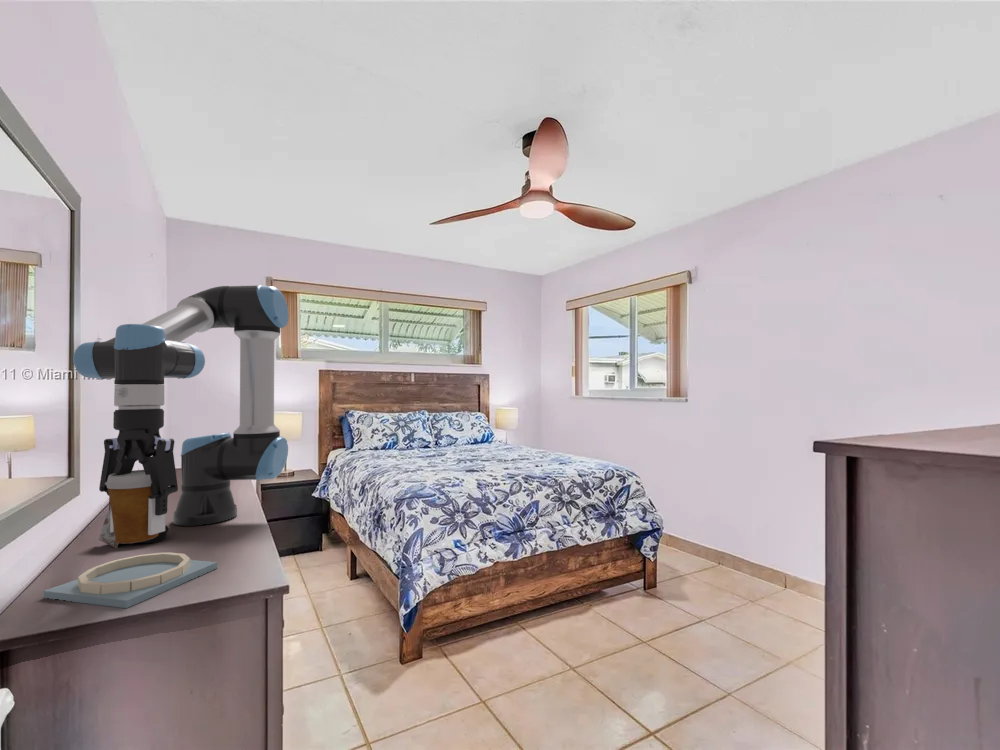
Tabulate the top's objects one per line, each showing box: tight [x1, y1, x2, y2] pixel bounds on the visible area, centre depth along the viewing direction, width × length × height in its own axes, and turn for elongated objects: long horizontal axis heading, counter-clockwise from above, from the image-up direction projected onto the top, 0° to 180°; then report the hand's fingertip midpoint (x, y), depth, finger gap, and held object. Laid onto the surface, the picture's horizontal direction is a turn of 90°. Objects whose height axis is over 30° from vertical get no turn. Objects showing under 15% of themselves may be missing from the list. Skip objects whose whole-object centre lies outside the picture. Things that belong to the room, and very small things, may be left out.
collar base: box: [42, 551, 218, 609], centre depth 89 cm, size 18×18×3 cm
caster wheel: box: [98, 510, 169, 549], centre depth 114 cm, size 7×11×10 cm
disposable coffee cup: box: [105, 469, 160, 544], centre depth 89 cm, size 10×10×12 cm
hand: (137, 531), depth 89 cm, fingers closed on disposable coffee cup, 8 cm apart
